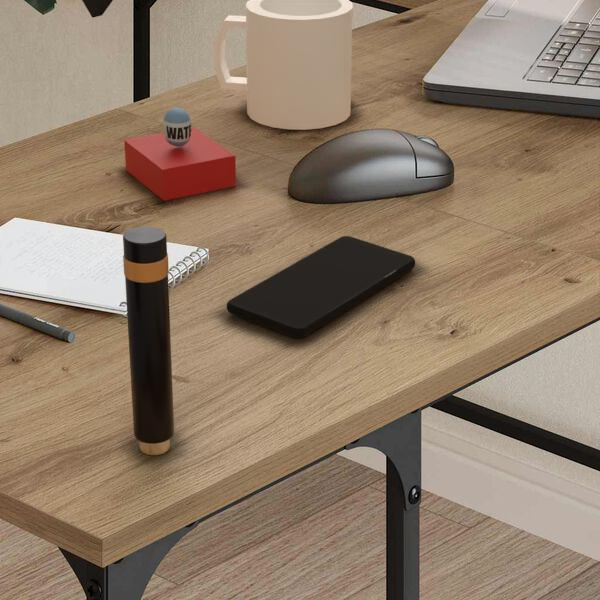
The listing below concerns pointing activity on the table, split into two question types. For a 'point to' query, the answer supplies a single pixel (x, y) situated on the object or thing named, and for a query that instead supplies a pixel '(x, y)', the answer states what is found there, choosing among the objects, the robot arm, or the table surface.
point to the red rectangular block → (179, 160)
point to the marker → (149, 337)
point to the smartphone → (320, 286)
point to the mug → (293, 62)
